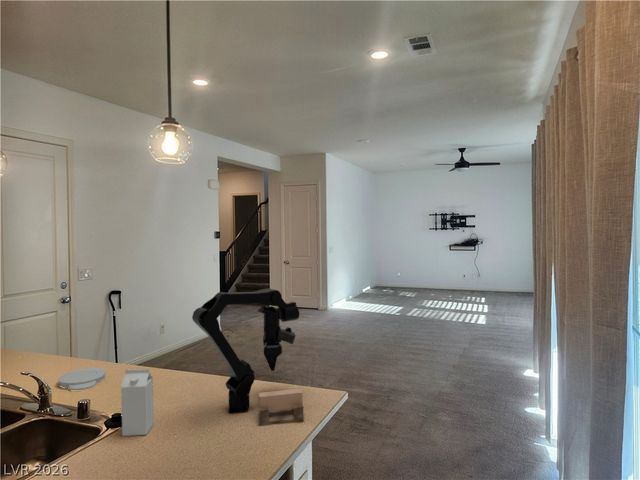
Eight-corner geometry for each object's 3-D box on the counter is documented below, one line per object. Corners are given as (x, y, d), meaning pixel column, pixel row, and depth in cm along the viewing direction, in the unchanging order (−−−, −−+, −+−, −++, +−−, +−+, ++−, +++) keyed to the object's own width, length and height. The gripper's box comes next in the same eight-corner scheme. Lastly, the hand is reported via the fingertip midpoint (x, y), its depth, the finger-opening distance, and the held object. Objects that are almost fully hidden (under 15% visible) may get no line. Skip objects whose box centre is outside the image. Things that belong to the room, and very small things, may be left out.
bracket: (259, 425, 130) (259, 410, 130) (259, 412, 139) (258, 399, 139) (303, 421, 133) (303, 407, 132) (300, 409, 142) (300, 396, 141)
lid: (56, 396, 156) (55, 388, 156) (59, 379, 174) (58, 372, 174) (107, 387, 165) (107, 379, 165) (105, 372, 182) (105, 365, 182)
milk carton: (131, 425, 131) (129, 366, 131) (154, 424, 132) (152, 365, 131) (122, 436, 124) (120, 374, 124) (146, 435, 125) (145, 373, 124)
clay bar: (259, 412, 133) (259, 397, 133) (258, 407, 136) (258, 392, 136) (302, 407, 136) (302, 392, 136) (300, 403, 140) (300, 388, 139)
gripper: (296, 328, 142) (296, 373, 142) (291, 317, 160) (292, 357, 161) (263, 330, 140) (264, 376, 140) (262, 318, 158) (263, 359, 159)
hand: (272, 366), depth 150 cm, fingers open, 9 cm apart
